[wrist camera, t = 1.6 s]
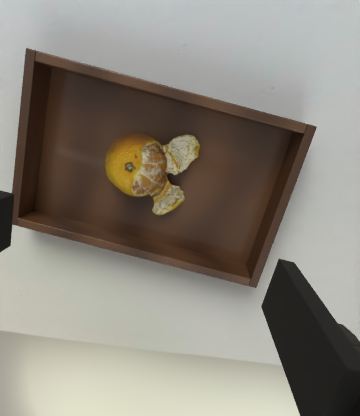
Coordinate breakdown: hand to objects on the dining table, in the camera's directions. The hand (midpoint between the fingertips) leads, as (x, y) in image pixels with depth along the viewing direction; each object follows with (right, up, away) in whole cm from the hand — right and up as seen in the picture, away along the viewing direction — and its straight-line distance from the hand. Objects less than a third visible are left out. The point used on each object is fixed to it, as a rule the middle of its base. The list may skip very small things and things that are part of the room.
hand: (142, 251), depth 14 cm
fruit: (0, +6, +15) cm, 16 cm away
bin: (0, +6, +15) cm, 16 cm away
